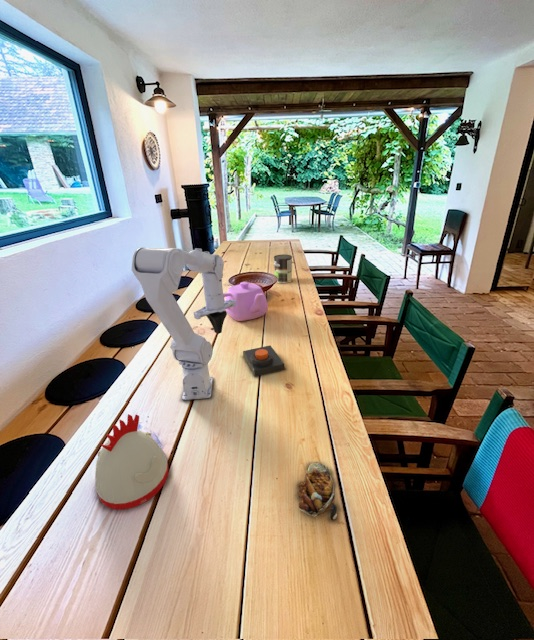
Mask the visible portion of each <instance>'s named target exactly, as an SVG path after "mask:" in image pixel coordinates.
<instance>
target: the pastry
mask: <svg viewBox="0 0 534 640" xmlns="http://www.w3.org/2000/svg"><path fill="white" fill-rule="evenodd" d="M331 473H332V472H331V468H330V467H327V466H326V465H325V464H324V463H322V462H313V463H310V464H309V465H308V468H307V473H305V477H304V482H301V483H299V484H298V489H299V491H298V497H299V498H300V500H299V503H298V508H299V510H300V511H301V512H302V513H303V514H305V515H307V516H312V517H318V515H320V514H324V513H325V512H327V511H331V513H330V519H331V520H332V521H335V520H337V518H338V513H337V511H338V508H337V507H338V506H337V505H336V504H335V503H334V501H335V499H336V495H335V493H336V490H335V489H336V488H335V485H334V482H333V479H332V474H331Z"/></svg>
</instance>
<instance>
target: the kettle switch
mask: <svg viewBox="0 0 534 640" xmlns="http://www.w3.org/2000/svg"><path fill="white" fill-rule="evenodd" d="M259 349H265V350H267V351H268V358H267V359H264V360H258V359H256V356H255V352H256V351H257V350H259ZM242 357H243V359H244V360H245V362H246V364H247V366H248V367H249V370H250V371H251V373H252V374H253V376H254V377H259V376H263V375H268V374H272V373H276V372H282V371H284V370H286V368H285V362H284V361H283V359H281V357H280V356H279V354H278V353H277V352H276V351H275V350H274V348H273V346H271V345H264V346H261V347H256V348H251V349H246V350H242Z"/></svg>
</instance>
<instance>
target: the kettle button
mask: <svg viewBox="0 0 534 640" xmlns="http://www.w3.org/2000/svg"><path fill="white" fill-rule="evenodd" d="M255 356H256V359H258V360H264V359H267V358H268V351H267V350H265V349H259V350H257V351H256V352H255Z"/></svg>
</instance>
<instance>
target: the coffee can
mask: <svg viewBox="0 0 534 640" xmlns="http://www.w3.org/2000/svg"><path fill="white" fill-rule="evenodd" d="M273 265H274V266H273V269H274V270H273V271H274V276H276V277H277V279H278V281H277V282H276V283H277V284H288V283H291V282H292V281H293V256H292V254H276V255H274V256H273Z"/></svg>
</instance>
